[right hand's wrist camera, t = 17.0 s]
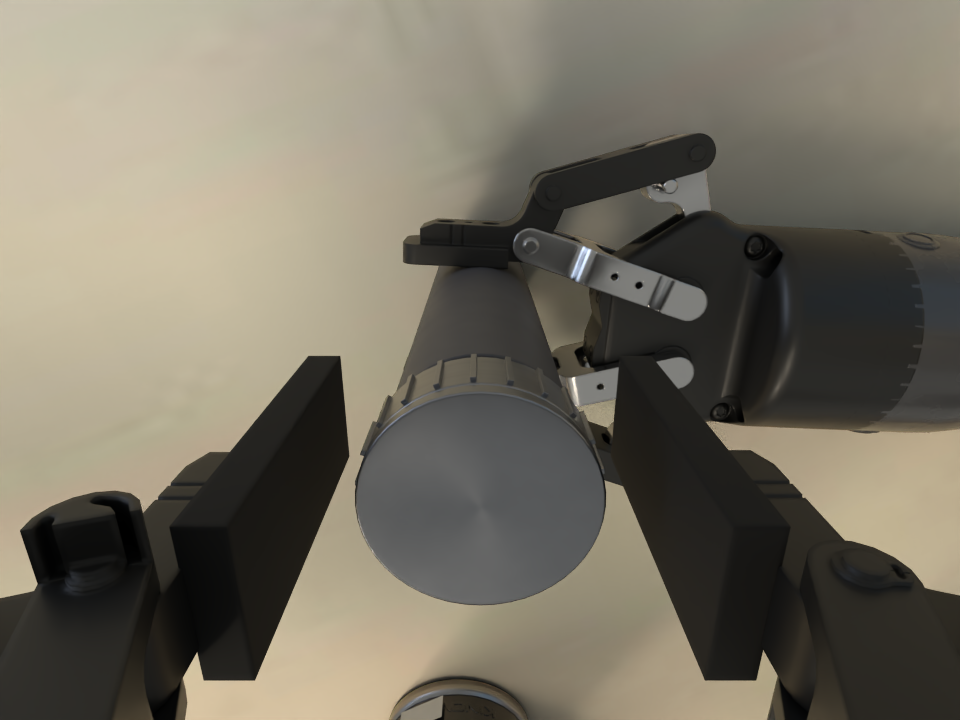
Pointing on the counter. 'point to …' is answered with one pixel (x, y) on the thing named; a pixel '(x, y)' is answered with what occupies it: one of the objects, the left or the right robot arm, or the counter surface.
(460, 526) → the lid
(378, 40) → the counter surface
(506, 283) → the dark gray cylinder
